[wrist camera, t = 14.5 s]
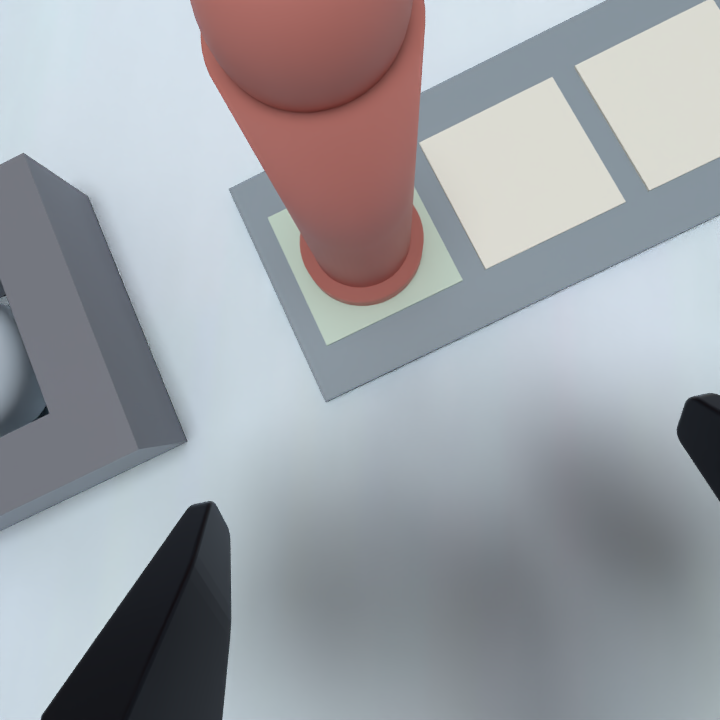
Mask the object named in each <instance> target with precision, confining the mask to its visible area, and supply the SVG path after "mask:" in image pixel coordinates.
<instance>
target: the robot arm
mask: <svg viewBox="0 0 720 720" xmlns="http://www.w3.org/2000/svg"><path fill="white" fill-rule="evenodd" d="M677 435H678V438H679V440H680V442H681V444H682V445H683V447H684V448H685V450H686V451H687V453H688V454H689V456H690V457H691V459H692V460H693V462H694V463H695V465H696V466H697V468H698V469H699V471H700V473H701V474H702V476H703V477H704V479H705V480H706V482H707V483H708V485H709V486H710V488H711V489H712V491H713V492H714V494H715V495H716V497H717V498H718V500H719V501H720V395H718V394H714V393H707V394H702V395H698V396H693V397H690V398H689V399H688V400H687V401H686V402H685V405H684V408H683V411H682V414H681V417H680V420H679V423H678V426H677ZM230 631H231V553H230V533H229V529H228V527H227V525H226V523H225V521H224V519H223V517H222V515H221V513H220V511H219V509H218V507H217V506H216V504H215V503H214V502H212V501H207V502H203V503H198V504H194V505H191V506H190V507H189V508H188V509H187V510H186V512H185V513H184V514H183V516H182V517H181V519H180V520H179V521H178V523H177V524H176V526H175V527H174V529H173V530H172V531H171V533H170V534H169V536H168V537H167V538H166V540H165V541H164V543H163V544H162V546H161V547H160V548H159V550H158V551H157V553H156V554H155V555H154V557H153V558H152V560H151V561H150V563H149V564H148V565H147V567H146V568H145V570H144V571H143V573H142V574H141V575H140V577H139V578H138V580H137V581H136V582H135V584H134V585H133V587H132V588H131V590H130V591H129V592H128V594H127V595H126V597H125V598H124V599H123V601H122V602H121V604H120V605H119V607H118V608H117V609H116V611H115V612H114V614H113V615H112V616H111V618H110V619H109V621H108V622H107V624H106V625H105V626H104V628H103V629H102V631H101V632H100V633H99V635H98V636H97V638H96V639H95V641H94V642H93V643H92V645H91V646H90V648H89V649H88V651H87V652H86V653H85V655H84V656H83V658H82V659H81V660H80V662H79V663H78V665H77V666H76V668H75V669H74V670H73V672H72V673H71V675H70V676H69V677H68V679H67V680H66V682H65V683H64V685H63V686H62V687H61V689H60V690H59V692H58V693H57V694H56V696H55V697H54V699H53V700H52V702H51V703H50V704H49V706H48V707H47V709H46V710H45V711H44V713H43V714H42V716H41V720H222V717H223V706H224V696H225V685H226V675H227V664H228V654H229V644H230Z"/></svg>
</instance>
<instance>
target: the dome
mask: <svg viewBox="0 0 720 720" xmlns="http://www.w3.org/2000/svg"><path fill="white" fill-rule="evenodd" d="M45 407H46V403H45V400H44V397H43V395H42V392H41V389H40V386H39V384H38V381H37V378H36V375H35V373H34V370H33V367H32V364H31V362H30V359H29V356H28V353H27V351H26V348H25V345H24V342H23V340H22V337H21V334H20V332H19V329H18V326H17V323H16V321H15V318H14V315H13V312H12V310H11V307H10V306H7V305H3V304H0V437H2V436H4V435H6V434H8V433H10V432H13V431H15V430H17V429H19V428H21V427H23V426H25V425H27V424H29V423H31V422H33V421H34V420H35V419H36V418H37V417H38V416H39V415H40V414H41V412H42V411H43V410H44V408H45Z"/></svg>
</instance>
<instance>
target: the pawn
mask: <svg viewBox="0 0 720 720" xmlns="http://www.w3.org/2000/svg"><path fill="white" fill-rule="evenodd" d="M190 1H191V5H192V8H193V12H194V15H195V18H196V21H197V24H198V26H199V29H200V31H201V46H202V53H203V57H204V61H205V64H206V67H207V69H208V72H209V75H210V77H211V78H212V80H213V82H214V84H215V85H216V87H217V89H218V90H219V92H220V94H221V96H222V97H223V99H224V101H225V103H226V104H227V106H228V108H229V110H230V111H231V113H232V115H233V117H234V118H235V120H236V122H237V123H238V125H239V127H240V129H241V130H242V132H243V134H244V136H245V137H246V139H247V141H248V143H249V144H250V146H251V148H252V150H253V151H254V153H255V155H256V156H257V158H258V160H259V162H260V163H261V165H262V167H263V169H264V170H265V172H266V174H267V176H268V177H269V179H270V181H271V183H272V184H273V186H274V188H275V189H276V191H277V193H278V195H279V196H280V198H281V200H282V202H283V203H284V205H285V207H286V209H287V210H288V212H289V214H290V215H291V217H292V219H293V221H294V222H295V224H296V226H297V228H298V229H299V231H300V252H301V256H302V260H303V263H304V265H305V267H306V269H307V271H308V273H309V274H310V276H311V277H312V279H313V280H314V281H315V283H316V284H317V285H318V287H319V288H320V289H321V290H322V291H323V292H325V293H326V294H327V295H328V296H330V297H332V298H333V299H335V300H337V301H340V302H342V303H345V304H349V305H355V306H369V305H375V304H379V303H382V302H385V301H387V300H389V299H391V298H393V297H394V296H396V295H397V294H399V293H400V292H401V291H403V290H404V289H405V288H406V287H407V286H408V284H409V283H410V282H411V280H412V279H413V277H414V276H415V274H416V272H417V270H418V267H419V265H420V261H421V257H422V250H423V243H424V233H423V226H422V222H421V219H420V216H419V214H418V212H417V210H416V208H415V207H414V205H413V196H414V181H415V166H416V151H417V137H418V122H419V107H420V92H421V77H422V62H423V48H424V33H425V4H424V0H190Z"/></svg>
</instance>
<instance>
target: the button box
mask: <svg viewBox="0 0 720 720" xmlns="http://www.w3.org/2000/svg"><path fill="white" fill-rule="evenodd" d="M4 295H6V296H7V299H8V301H9V304H10V307H11V310H12V312H13V315H14V318H15V321H16V323H17V326H18V329H19V332H20V334H21V337H22V340H23V342H24V345H25V348H26V351H27V353H28V356H29V359H30V362H31V364H32V367H33V370H34V373H35V375H36V378H37V381H38V384H39V386H40V389H41V392H42V395H43V397H44V400H45V403H46V405H47V408H48V411H49V414H47V415H45V416H43V417H41V418H39V419H37V420H35V421H33V422H31V423H29V424H27V425H25V426H23V427H21V428H19V429H17V430H15V431H13V432H10V433H8V434H6V435H4V436H2V437H0V531H1V530H3V529H5V528H7V527H10V526H12V525H14V524H16V523H18V522H20V521H22V520H24V519H26V518H28V517H30V516H33V515H35V514H37V513H39V512H41V511H43V510H45V509H47V508H49V507H51V506H53V505H56V504H58V503H60V502H62V501H64V500H66V499H68V498H70V497H72V496H74V495H76V494H79V493H81V492H83V491H85V490H87V489H89V488H91V487H93V486H95V485H97V484H99V483H102V482H104V481H106V480H108V479H110V478H112V477H114V476H116V475H118V474H120V473H122V472H125V471H127V470H129V469H131V468H133V467H135V466H137V465H139V464H141V463H143V462H145V461H148V460H150V459H152V458H154V457H156V456H158V455H160V454H162V453H164V452H166V451H168V450H171V449H173V448H175V447H177V446H179V445H181V444H183V443H185V442H187V440H186V438H185V435H184V433H183V430H182V428H181V425H180V423H179V421H178V418H177V416H176V413H175V411H174V408H173V406H172V403H171V401H170V398H169V396H168V393H167V391H166V389H165V386H164V384H163V381H162V379H161V376H160V374H159V371H158V369H157V366H156V364H155V361H154V359H153V356H152V354H151V352H150V349H149V347H148V344H147V342H146V339H145V337H144V334H143V332H142V329H141V327H140V324H139V322H138V319H137V317H136V315H135V312H134V310H133V307H132V305H131V302H130V300H129V297H128V295H127V292H126V290H125V287H124V285H123V282H122V280H121V278H120V275H119V273H118V270H117V268H116V265H115V263H114V260H113V258H112V255H111V253H110V250H109V248H108V245H107V243H106V241H105V238H104V236H103V233H102V231H101V228H100V226H99V223H98V221H97V218H96V216H95V213H94V211H93V208H92V206H91V204H90V201H89V199H88V196H87V195H85V194H84V193H82V192H81V191H79V190H78V189H76V188H75V187H73V186H72V185H70V184H69V183H67V182H66V181H64V180H63V179H61V178H60V177H58V176H57V175H55V174H54V173H52V172H51V171H50V170H48V169H47V168H45V167H44V166H42V165H41V164H39V163H38V162H36V161H35V160H33V159H32V158H30V157H29V156H27V155H26V154H24V153H22V154H20V155H18V156H16V157H14V158H12V159H10V160H9V161H7V162H5V163H3V164H1V165H0V297H2V296H4Z"/></svg>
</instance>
